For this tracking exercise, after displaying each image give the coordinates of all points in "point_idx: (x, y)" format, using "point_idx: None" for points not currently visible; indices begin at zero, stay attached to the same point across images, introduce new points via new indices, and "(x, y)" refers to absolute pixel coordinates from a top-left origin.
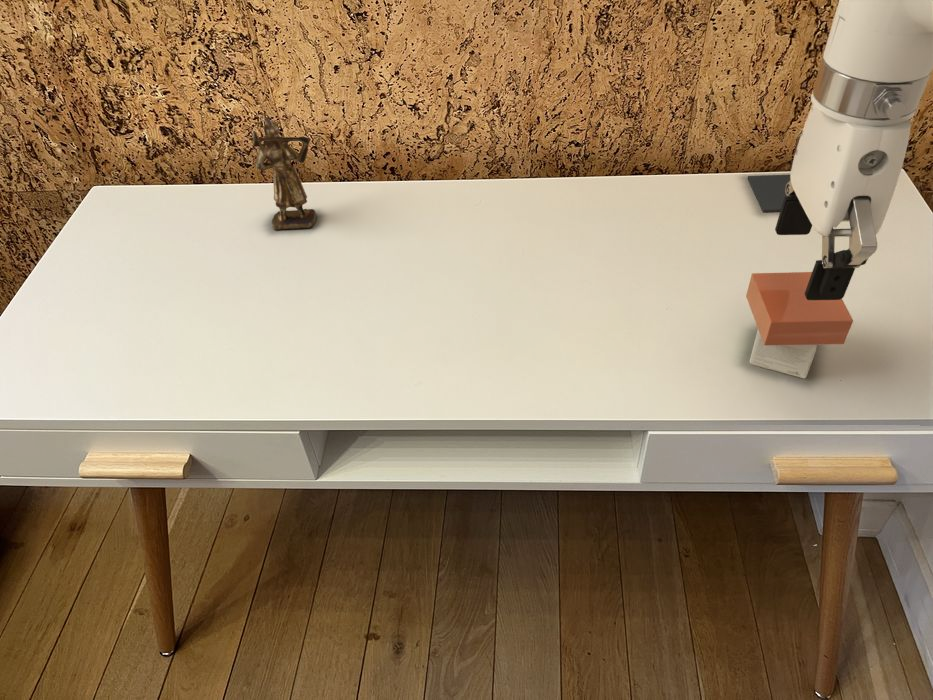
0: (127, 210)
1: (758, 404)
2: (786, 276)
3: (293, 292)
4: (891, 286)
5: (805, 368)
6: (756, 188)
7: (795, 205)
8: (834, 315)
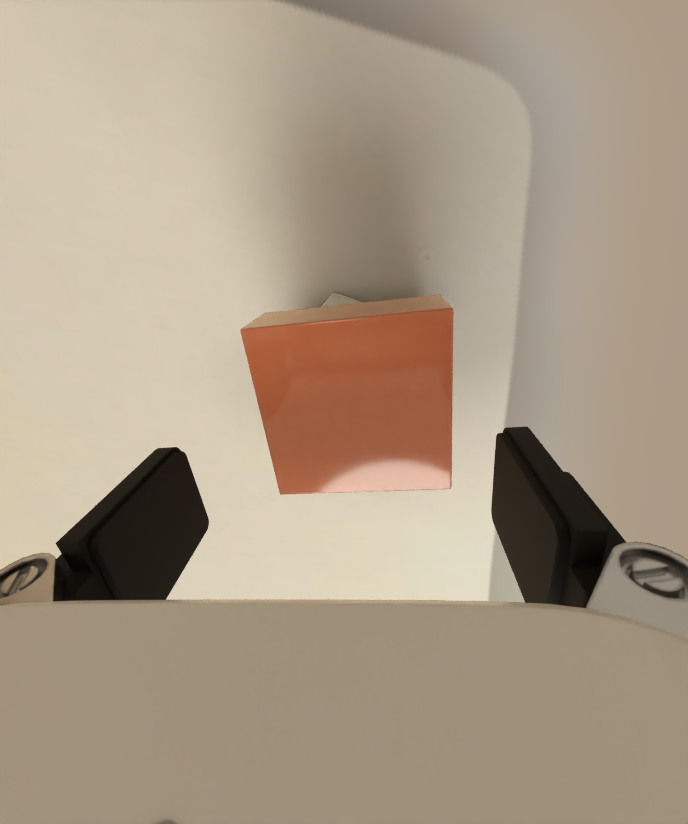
0: None
1: (481, 407)
2: (280, 431)
3: None
4: (91, 50)
5: None
6: None
7: (142, 598)
8: (430, 353)
